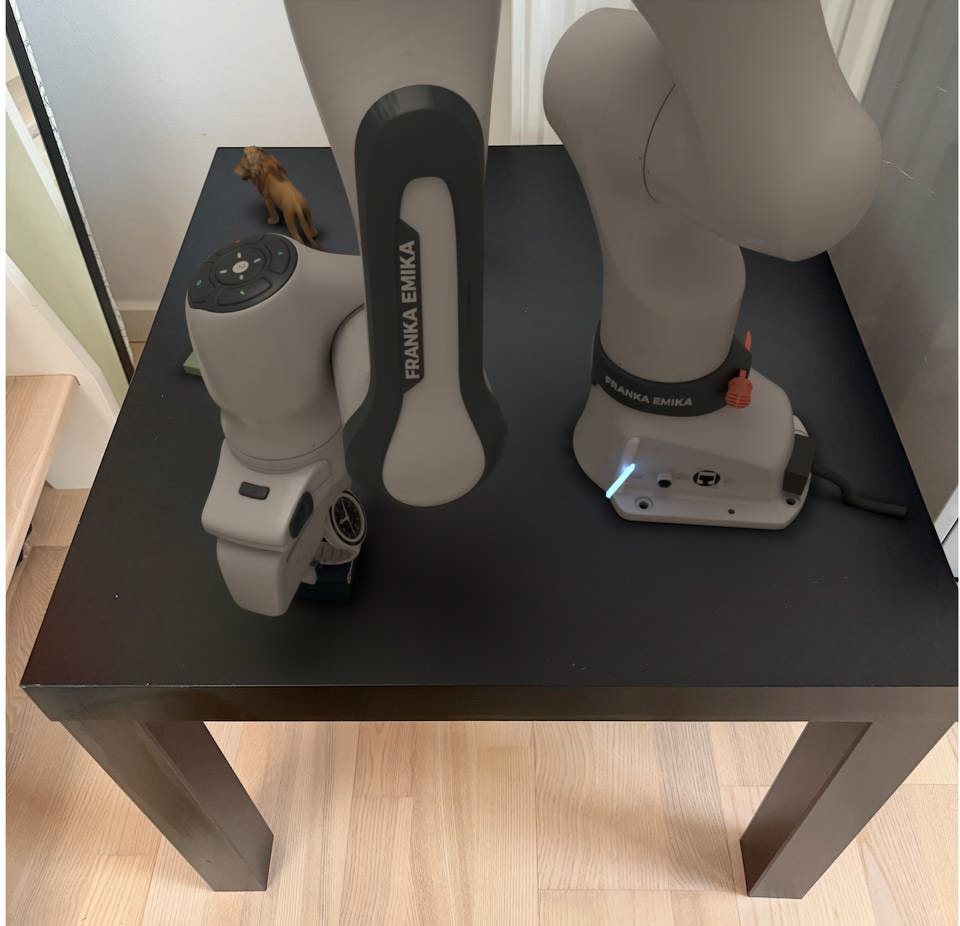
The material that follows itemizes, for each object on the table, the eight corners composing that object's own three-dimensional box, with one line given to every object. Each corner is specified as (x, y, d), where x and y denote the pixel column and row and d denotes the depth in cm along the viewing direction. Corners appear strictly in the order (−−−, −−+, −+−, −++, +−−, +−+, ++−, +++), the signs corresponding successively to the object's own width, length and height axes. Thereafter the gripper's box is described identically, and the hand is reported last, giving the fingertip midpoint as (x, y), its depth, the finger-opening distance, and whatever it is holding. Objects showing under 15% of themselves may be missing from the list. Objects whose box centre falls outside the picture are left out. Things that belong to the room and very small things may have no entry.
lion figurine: (241, 214, 115) (223, 150, 108) (276, 196, 117) (261, 132, 110) (309, 266, 108) (295, 201, 101) (345, 246, 110) (333, 181, 103)
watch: (371, 602, 78) (352, 530, 70) (280, 597, 79) (250, 525, 70) (381, 548, 82) (364, 473, 73) (293, 543, 82) (267, 468, 74)
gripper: (311, 337, 73) (337, 448, 84) (187, 539, 61) (237, 638, 72) (383, 352, 72) (401, 462, 83) (272, 560, 60) (310, 658, 70)
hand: (324, 545), depth 77 cm, fingers open, 5 cm apart
